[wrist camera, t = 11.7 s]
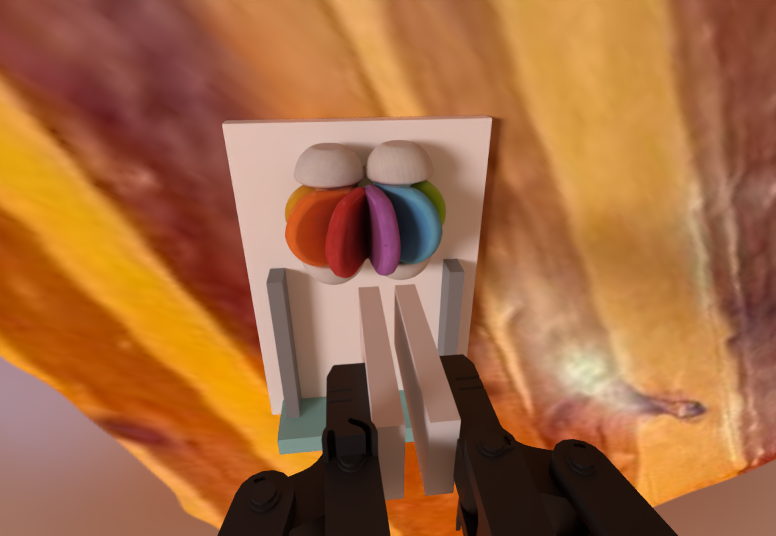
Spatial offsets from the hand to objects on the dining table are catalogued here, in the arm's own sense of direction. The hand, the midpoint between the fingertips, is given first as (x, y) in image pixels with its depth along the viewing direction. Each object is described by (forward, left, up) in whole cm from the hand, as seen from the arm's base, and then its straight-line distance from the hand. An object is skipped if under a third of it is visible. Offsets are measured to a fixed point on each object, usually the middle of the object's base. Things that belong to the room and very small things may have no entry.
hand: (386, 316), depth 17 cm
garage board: (+7, 0, -14) cm, 16 cm away
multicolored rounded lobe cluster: (0, 0, -13) cm, 13 cm away
